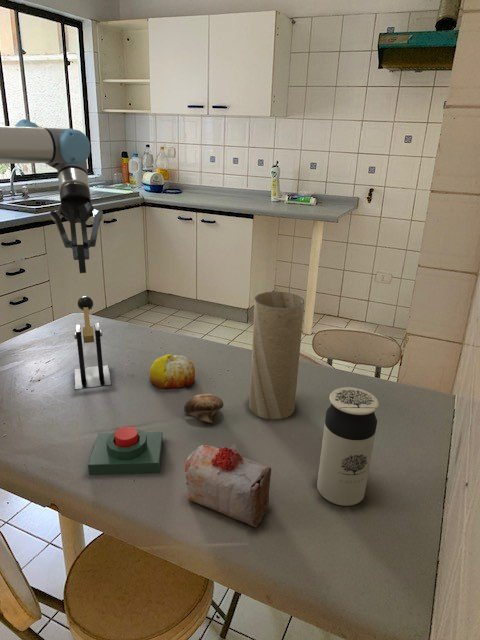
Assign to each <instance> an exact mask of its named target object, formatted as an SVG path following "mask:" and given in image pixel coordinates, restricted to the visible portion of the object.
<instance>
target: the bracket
mask: <svg viewBox="0 0 480 640" xmlns="http://www.w3.org/2000/svg"><path fill="white" fill-rule="evenodd" d="M93 325H94V326H93V328H94V339H95V349H96V359H97V365H96V366H88V367H86V366H85V365H86V363H85V355H84V346H83V344H84V343H83V334H82V327H81V326H82V325H81V324H75V332H74V333H73V336H74V340H76V345H77V354H78V355H77V356H78V363H79V367H78V368H74V370H73V373H74V376H73V377H74V391H77V390H85V389H93V388H100V387H107V386H108V387H109V386H112V378H111V373H110V366H109V364H105V365H103V363H104V362H103V352H102V341H101V337H103V330H101V329H100V323H99V322H93Z"/></svg>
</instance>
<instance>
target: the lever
mask: <svg viewBox="0 0 480 640" xmlns="http://www.w3.org/2000/svg"><path fill="white" fill-rule="evenodd" d="M77 307H78V309H79V310H80V311H83V319H84V326H83V327H82V339H83V344H90V343H94V342H95V333H94V326H92V325H91V322H90V321H91V320H90V313H89V311H90V310H92V309H93V308H94V301H93V299H92V298H91V297H90V296H87V295H84V296H81V297H79V299H78V300H77Z"/></svg>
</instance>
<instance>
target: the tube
mask: <svg viewBox="0 0 480 640" xmlns="http://www.w3.org/2000/svg"><path fill="white" fill-rule="evenodd" d="M304 310H305V299H304V298H303V297H301V296H300V295H298V294H295V293H291V292H286V291H266V292H265V291H264V292H262V293H258V294H257V295H255V297H254V304H253V325H252V344H251V362H250V364H251V365H250V379H249V380H250V381H249V383H250V385H249V401H248V403H249V405H248V407H249V409H250V411H251V412H252V413H253V414H254V415H256V416H258V417H260V418H262V419H267V420H282V419H286V418H288V417H290V416H291V415H292V414H293V413H294V411H295V406H296V398H297V397H296V396H297V385H298V375H299V363H300V354H301V344H302V343H301V342H302V333H303V323H304V321H303V320H304V312H305V311H304Z"/></svg>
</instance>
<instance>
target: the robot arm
mask: <svg viewBox="0 0 480 640" xmlns="http://www.w3.org/2000/svg"><path fill="white" fill-rule="evenodd" d="M90 153H91V143H90V140H89V138H88V136H87V135H86V134H85V133H84V132H82V131H81V130H79V129H74V128H68V127H67V128H59V127H58V128H56V127H42V126H40V125H38V124H36V122H32V121H30V120H28V119H25V118H23V119H20V120H18V122H16V124H15V125H14V126H10V125H9V126H6V125H0V165H9V164H10V165H11V164H13V165H15V164H45V165H47V166H49V167H51V168H53V169H55V170H57V178H58V188H59V202H60V205H59V206H58V209H57V210H56V211H55V210H51V211H50V219H51V221H53V223H54V224H55V225H56V228H57V231H58V233H59V236H60V238H61V241H62V243H63V245H64V248H66V249H69V248H70V249H71V250H72V258H73V259H72V260H74V261H78V271H79V274H87V268H86V267H87V266H86V261H87V260H90V248H95V247H96V245H97V241H98V240H97V239H98V234H99V228H100V224H101V222H102V221H103V219H104V211H103V210H101V209H99V210H97V209H95V207H94V206H93V204H92V198H91V191H90V180H89V173H88V172H89V171H88V158H89V157H90V155H91V154H90ZM62 217H63V218H64V219H65V220H66V221H67V222H68V223H69V227H70V237H71V240H70V239H69V237H68V234H67V232H66V229H65V227H64V224H63V221H62ZM91 217H93V223H92V227H91V234H90V239H88V230H87V222H88V220H89V219H91ZM78 223H79V224H80V231H81V239H82V244H81V243H80V244H78V239H77V227H76V224H78Z"/></svg>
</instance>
